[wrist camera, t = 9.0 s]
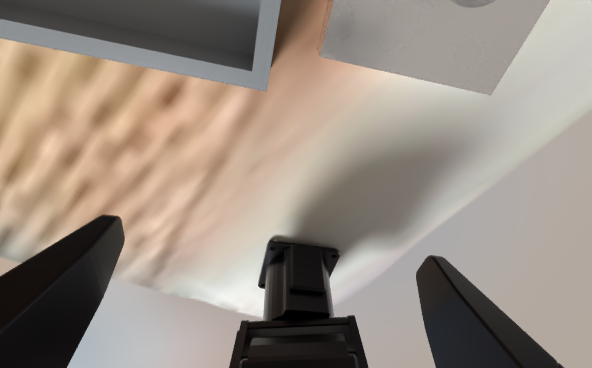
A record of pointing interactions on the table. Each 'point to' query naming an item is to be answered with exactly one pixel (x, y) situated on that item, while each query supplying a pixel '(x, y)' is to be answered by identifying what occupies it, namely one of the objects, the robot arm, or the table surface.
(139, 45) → the tray
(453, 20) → the stud plate
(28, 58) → the table surface
